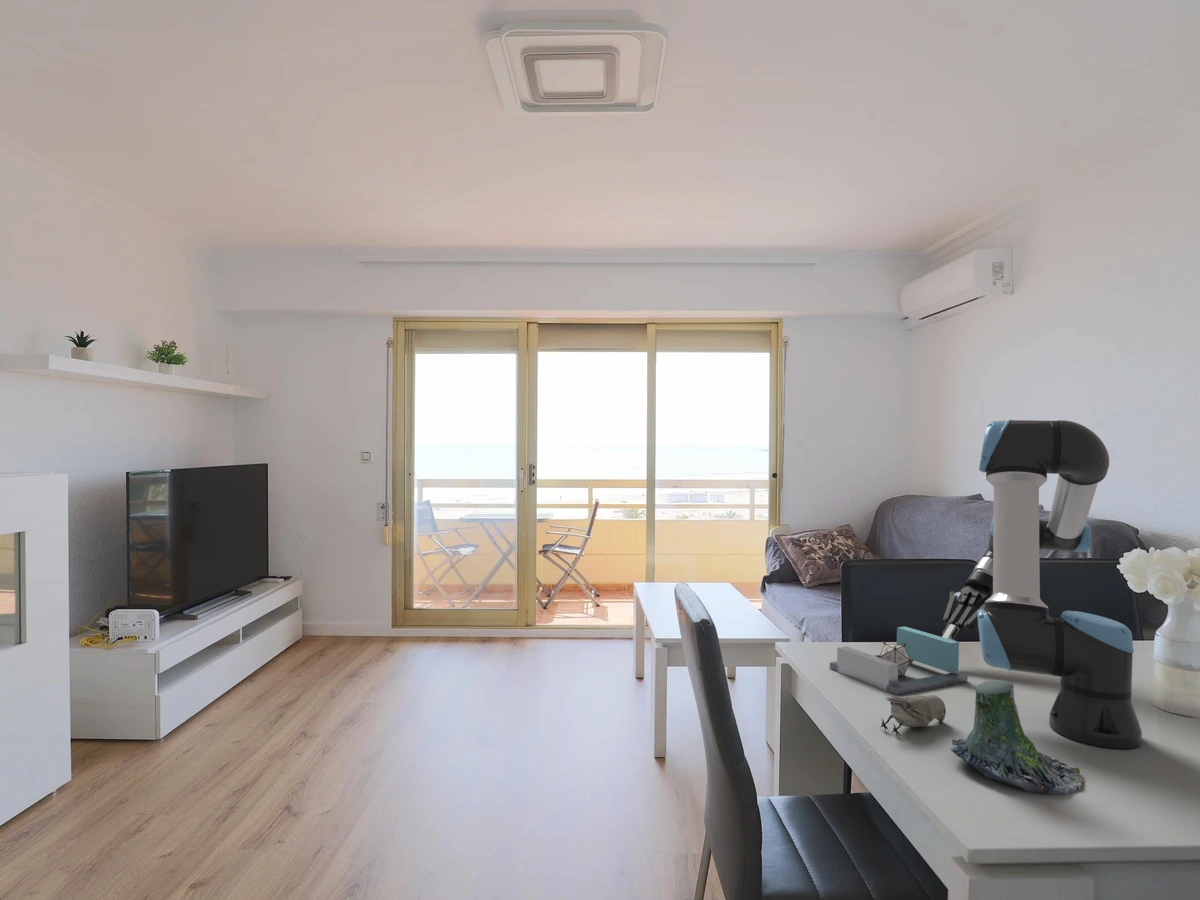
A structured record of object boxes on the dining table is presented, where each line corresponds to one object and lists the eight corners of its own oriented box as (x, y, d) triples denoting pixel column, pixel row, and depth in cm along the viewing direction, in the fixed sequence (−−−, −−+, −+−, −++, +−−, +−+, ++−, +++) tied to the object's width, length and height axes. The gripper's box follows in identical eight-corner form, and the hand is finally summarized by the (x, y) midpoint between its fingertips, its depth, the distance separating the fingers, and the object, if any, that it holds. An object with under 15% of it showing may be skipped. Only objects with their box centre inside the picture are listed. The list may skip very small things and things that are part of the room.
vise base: (967, 681, 171) (967, 656, 171) (897, 695, 161) (897, 669, 161) (896, 657, 190) (897, 635, 190) (829, 668, 180) (830, 644, 180)
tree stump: (1113, 804, 113) (1089, 697, 113) (984, 824, 116) (961, 719, 115) (1052, 750, 132) (1032, 657, 131) (942, 768, 134) (922, 677, 133)
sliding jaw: (958, 671, 174) (959, 641, 174) (950, 672, 172) (950, 643, 172) (904, 653, 188) (905, 626, 188) (896, 654, 187) (897, 627, 187)
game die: (897, 693, 173) (899, 668, 167) (867, 672, 179) (868, 647, 174) (919, 671, 177) (922, 645, 171) (889, 651, 183) (891, 626, 177)
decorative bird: (953, 727, 143) (954, 690, 143) (898, 740, 136) (898, 702, 136) (930, 717, 148) (931, 682, 148) (875, 730, 141) (876, 693, 141)
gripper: (1016, 592, 186) (972, 663, 178) (970, 583, 197) (928, 649, 190) (1003, 573, 183) (958, 644, 176) (958, 565, 195) (914, 632, 188)
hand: (942, 647), depth 183 cm, fingers closed
